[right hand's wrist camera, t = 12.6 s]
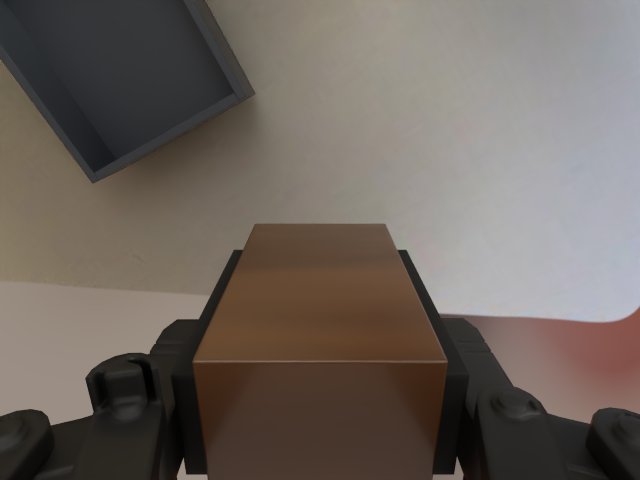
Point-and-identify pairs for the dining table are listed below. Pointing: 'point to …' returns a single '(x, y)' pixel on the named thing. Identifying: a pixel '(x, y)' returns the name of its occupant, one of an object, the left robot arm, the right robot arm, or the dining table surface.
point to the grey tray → (120, 73)
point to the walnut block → (320, 361)
